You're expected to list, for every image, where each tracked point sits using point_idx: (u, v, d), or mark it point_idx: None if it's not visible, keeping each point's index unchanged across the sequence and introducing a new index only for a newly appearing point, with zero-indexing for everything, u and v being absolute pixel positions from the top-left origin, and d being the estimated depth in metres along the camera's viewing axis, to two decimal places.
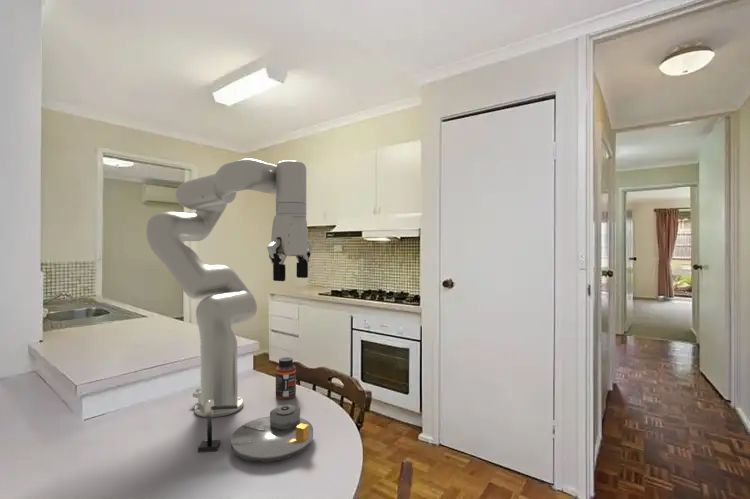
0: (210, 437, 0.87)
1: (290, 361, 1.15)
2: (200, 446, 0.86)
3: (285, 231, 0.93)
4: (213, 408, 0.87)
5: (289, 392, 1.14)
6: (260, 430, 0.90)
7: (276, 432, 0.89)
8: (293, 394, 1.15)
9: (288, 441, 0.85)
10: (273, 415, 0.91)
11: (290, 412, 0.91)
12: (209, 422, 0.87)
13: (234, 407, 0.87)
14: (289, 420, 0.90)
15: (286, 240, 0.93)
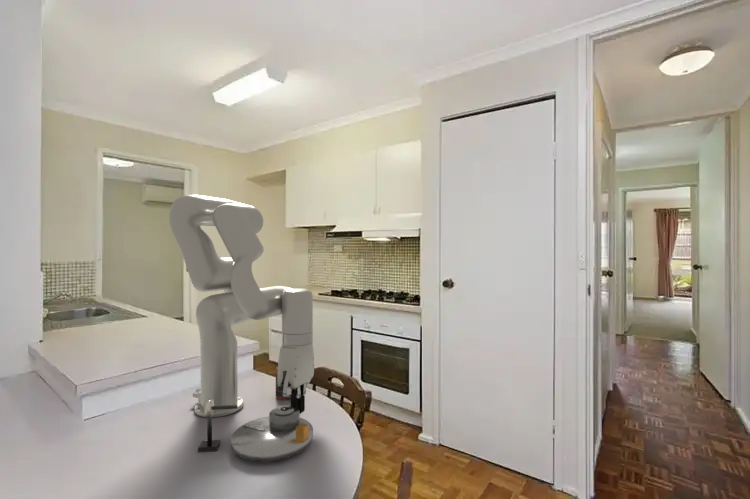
0: (210, 437, 0.87)
1: None
2: (200, 446, 0.86)
3: (292, 365, 0.92)
4: (213, 408, 0.87)
5: None
6: (260, 430, 0.90)
7: (276, 432, 0.89)
8: None
9: (288, 441, 0.85)
10: (272, 416, 0.91)
11: (289, 412, 0.91)
12: (209, 422, 0.87)
13: (234, 407, 0.87)
14: (288, 421, 0.89)
15: (293, 374, 0.92)
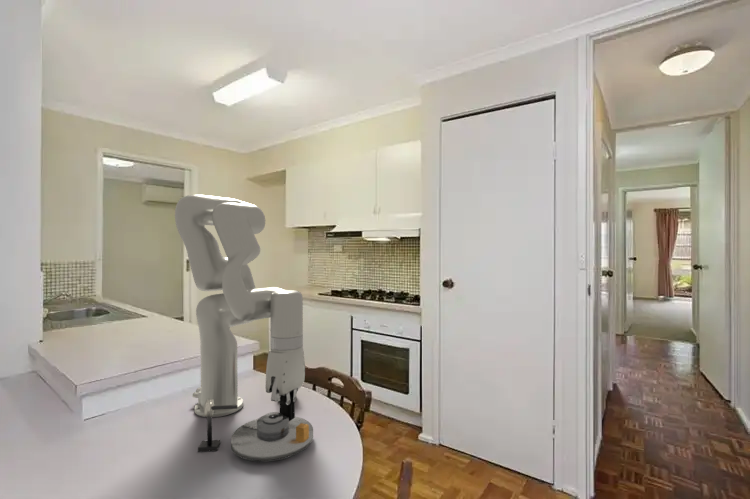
0: (210, 437, 0.87)
1: None
2: (200, 446, 0.86)
3: (280, 370, 0.88)
4: (213, 408, 0.87)
5: None
6: None
7: None
8: None
9: (288, 441, 0.85)
10: (259, 423, 0.87)
11: (277, 421, 0.87)
12: (209, 422, 0.87)
13: (234, 407, 0.87)
14: (274, 430, 0.85)
15: (281, 380, 0.88)
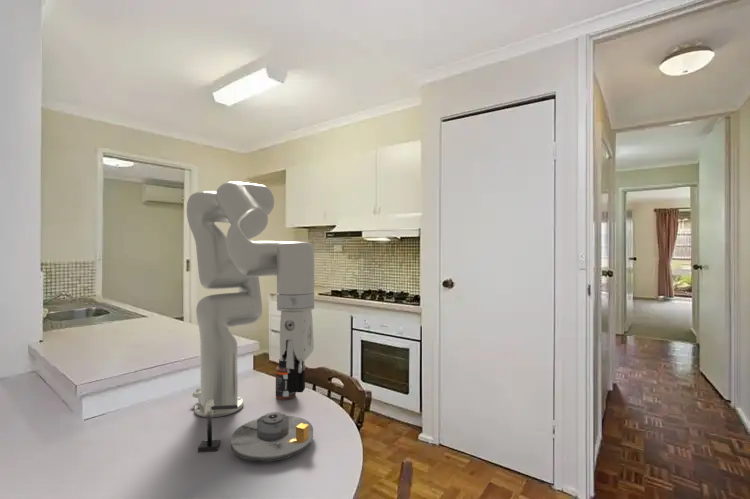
0: (210, 437, 0.87)
1: None
2: (200, 446, 0.86)
3: None
4: (213, 408, 0.87)
5: (289, 392, 1.14)
6: None
7: None
8: (293, 394, 1.15)
9: (288, 441, 0.85)
10: (259, 423, 0.87)
11: (277, 421, 0.87)
12: (209, 422, 0.87)
13: (234, 407, 0.87)
14: (274, 430, 0.85)
15: None
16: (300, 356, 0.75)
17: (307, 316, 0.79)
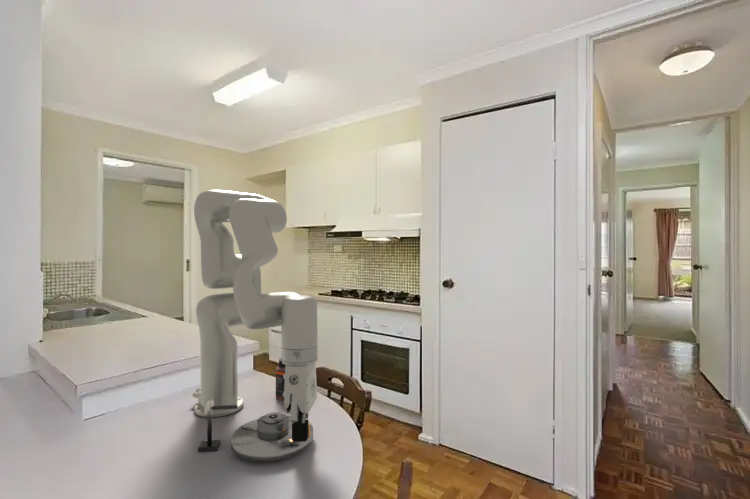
0: (210, 437, 0.87)
1: None
2: (200, 446, 0.86)
3: None
4: (213, 408, 0.87)
5: None
6: None
7: None
8: None
9: (290, 440, 0.85)
10: (260, 423, 0.86)
11: (278, 421, 0.87)
12: (209, 422, 0.87)
13: (234, 407, 0.87)
14: (276, 429, 0.85)
15: None
16: (303, 409, 0.78)
17: (310, 369, 0.82)
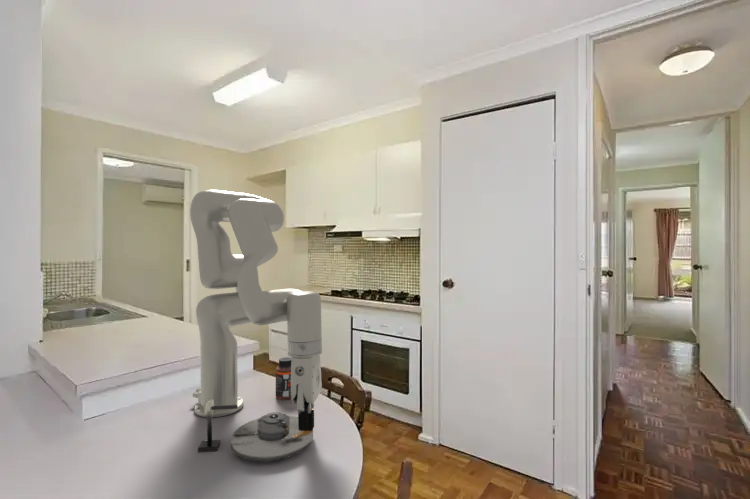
0: (210, 437, 0.87)
1: (290, 361, 1.15)
2: (200, 446, 0.86)
3: None
4: (213, 408, 0.87)
5: (289, 392, 1.14)
6: None
7: None
8: None
9: (298, 435, 0.88)
10: (265, 425, 0.86)
11: (282, 419, 0.88)
12: (209, 422, 0.87)
13: (234, 407, 0.87)
14: (283, 427, 0.86)
15: None
16: (309, 399, 0.82)
17: (315, 361, 0.86)
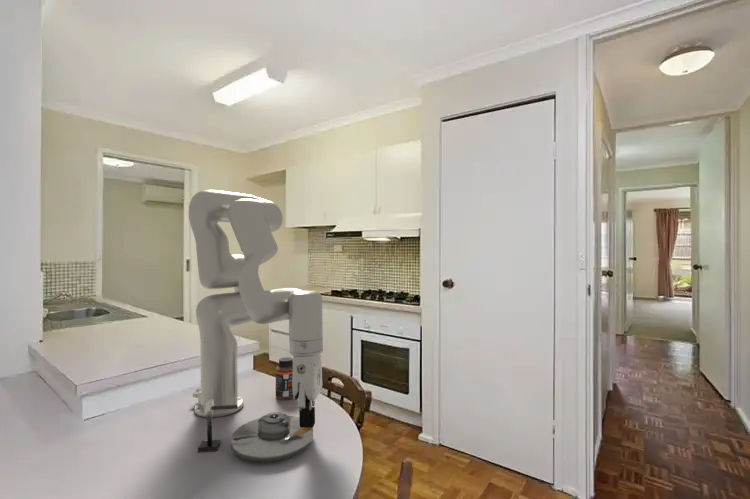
0: (210, 437, 0.87)
1: (290, 361, 1.15)
2: (200, 446, 0.86)
3: None
4: (213, 408, 0.87)
5: (289, 392, 1.14)
6: None
7: None
8: None
9: (300, 432, 0.89)
10: (267, 425, 0.86)
11: (283, 418, 0.88)
12: (209, 422, 0.87)
13: (234, 407, 0.87)
14: (286, 426, 0.87)
15: None
16: (310, 396, 0.84)
17: (316, 359, 0.87)
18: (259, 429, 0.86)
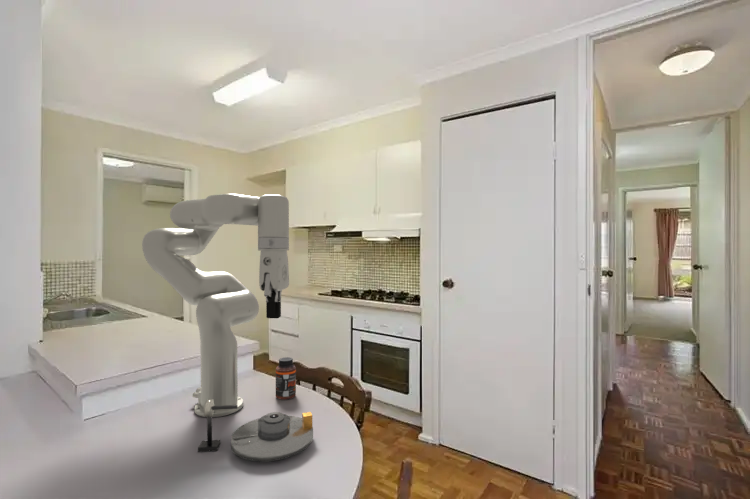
0: (210, 437, 0.87)
1: (290, 361, 1.15)
2: (200, 446, 0.86)
3: None
4: (213, 408, 0.87)
5: (289, 392, 1.14)
6: None
7: None
8: (293, 394, 1.15)
9: (300, 432, 0.89)
10: (267, 425, 0.86)
11: (283, 418, 0.88)
12: (209, 422, 0.87)
13: (234, 407, 0.87)
14: (286, 426, 0.87)
15: None
16: (275, 285, 0.93)
17: (282, 255, 0.96)
18: (259, 429, 0.86)
